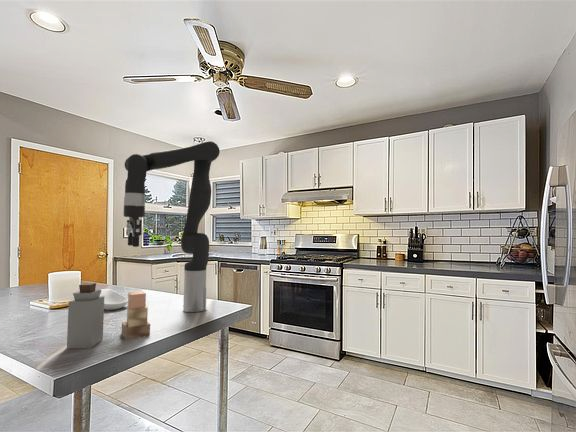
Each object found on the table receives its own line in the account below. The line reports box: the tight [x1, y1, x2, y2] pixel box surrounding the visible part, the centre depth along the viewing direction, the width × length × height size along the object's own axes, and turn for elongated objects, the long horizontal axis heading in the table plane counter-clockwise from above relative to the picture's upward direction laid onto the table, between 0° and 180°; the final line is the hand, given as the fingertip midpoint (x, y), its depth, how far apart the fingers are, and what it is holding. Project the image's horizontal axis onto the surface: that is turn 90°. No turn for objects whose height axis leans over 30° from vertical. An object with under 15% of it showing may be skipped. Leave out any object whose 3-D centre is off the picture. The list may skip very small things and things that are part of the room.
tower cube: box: [126, 305, 149, 327], centre depth 102 cm, size 6×6×6 cm
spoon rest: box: [99, 288, 128, 311], centre depth 139 cm, size 24×12×7 cm, turn 49°
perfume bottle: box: [66, 282, 105, 349], centre depth 94 cm, size 7×7×18 cm
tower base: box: [121, 321, 151, 341], centre depth 102 cm, size 7×7×4 cm
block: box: [127, 290, 147, 309], centre depth 103 cm, size 4×4×4 cm
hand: (133, 246), depth 122 cm, fingers open, 8 cm apart
